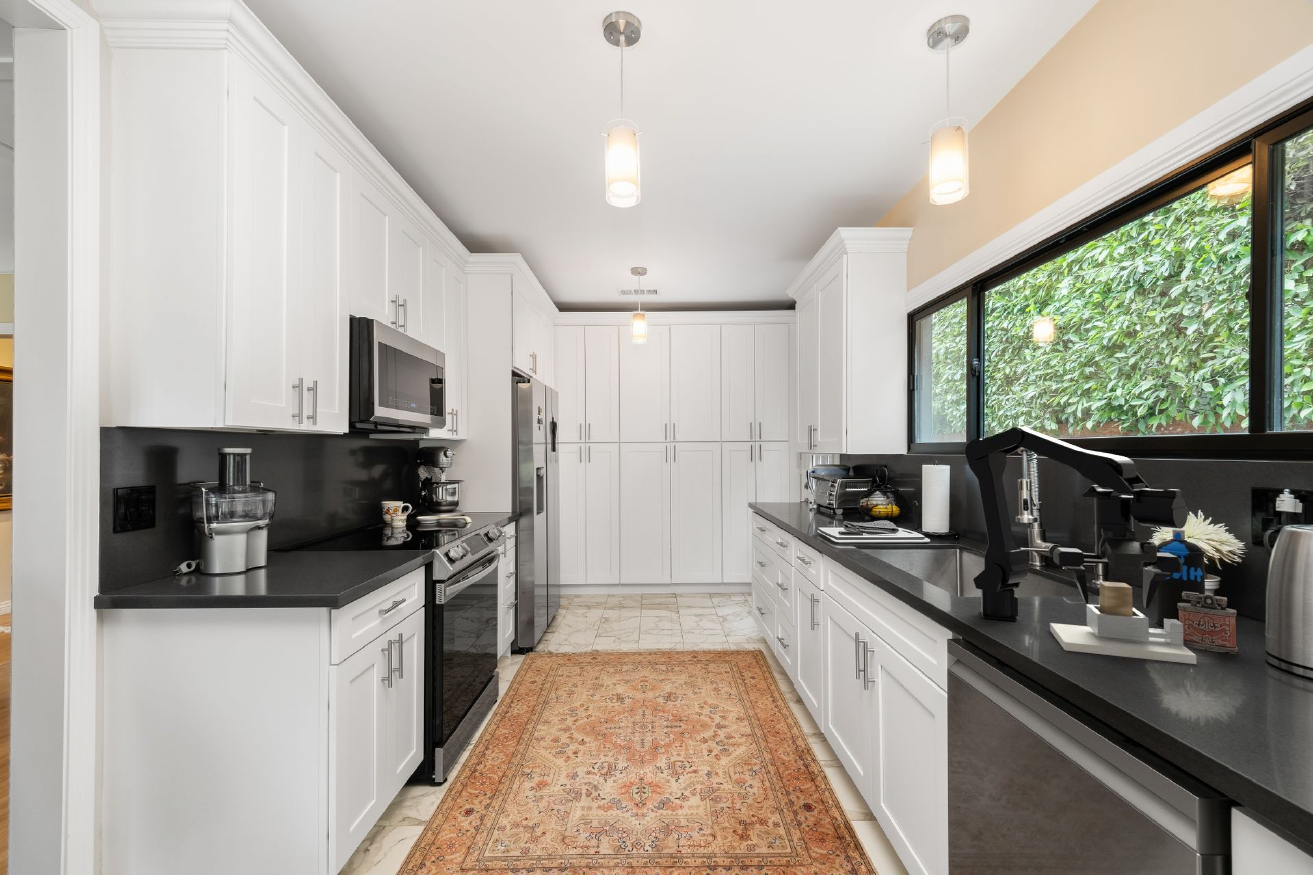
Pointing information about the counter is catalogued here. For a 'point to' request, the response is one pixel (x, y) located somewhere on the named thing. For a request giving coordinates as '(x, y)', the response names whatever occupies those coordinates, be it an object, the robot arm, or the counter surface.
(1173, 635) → the bracket
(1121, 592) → the oak rail post
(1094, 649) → the bracket board
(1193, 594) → the lighter
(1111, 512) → the robot arm
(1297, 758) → the counter surface
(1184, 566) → the aerosol can
